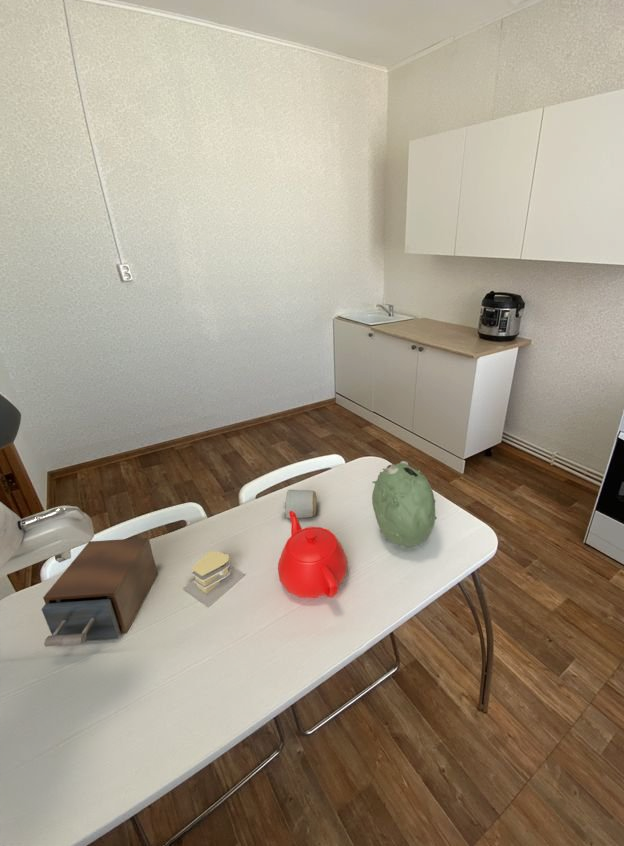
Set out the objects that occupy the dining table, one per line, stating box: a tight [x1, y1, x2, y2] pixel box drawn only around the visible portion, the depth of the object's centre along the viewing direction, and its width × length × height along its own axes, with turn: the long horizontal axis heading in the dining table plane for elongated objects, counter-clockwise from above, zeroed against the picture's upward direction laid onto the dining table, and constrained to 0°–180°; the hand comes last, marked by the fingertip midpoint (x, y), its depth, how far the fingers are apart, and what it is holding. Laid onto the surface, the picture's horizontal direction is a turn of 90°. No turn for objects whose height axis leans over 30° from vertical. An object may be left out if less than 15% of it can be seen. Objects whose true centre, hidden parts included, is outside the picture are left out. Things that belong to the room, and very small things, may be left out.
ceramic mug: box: [285, 489, 317, 519], centre depth 108 cm, size 11×8×8 cm
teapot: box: [277, 511, 348, 599], centre depth 86 cm, size 25×16×12 cm, turn 30°
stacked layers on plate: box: [182, 551, 246, 608], centre depth 85 cm, size 10×9×6 cm
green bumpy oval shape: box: [371, 460, 437, 548], centre depth 95 cm, size 16×19×20 cm
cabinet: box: [42, 537, 159, 635], centre depth 79 cm, size 15×13×11 cm
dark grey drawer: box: [41, 596, 122, 647], centre depth 75 cm, size 18×11×9 cm, turn 4°
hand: (27, 570), depth 56 cm, fingers open, 8 cm apart
